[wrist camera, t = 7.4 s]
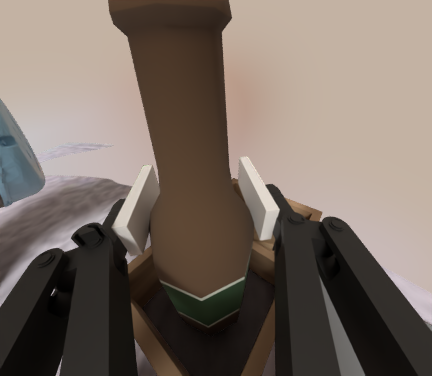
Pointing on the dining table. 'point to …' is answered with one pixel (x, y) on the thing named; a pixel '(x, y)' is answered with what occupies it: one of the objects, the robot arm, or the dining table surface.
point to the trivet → (343, 342)
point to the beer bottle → (190, 156)
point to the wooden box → (150, 284)
